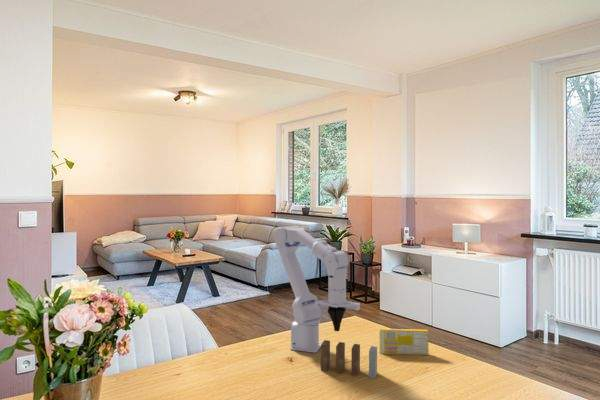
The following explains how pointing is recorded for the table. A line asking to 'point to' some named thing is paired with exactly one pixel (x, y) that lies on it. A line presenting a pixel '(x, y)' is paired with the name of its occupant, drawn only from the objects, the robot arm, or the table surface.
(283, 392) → the table surface
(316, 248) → the robot arm
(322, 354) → the domino
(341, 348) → the domino
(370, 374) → the domino
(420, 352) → the candy box
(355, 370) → the domino
